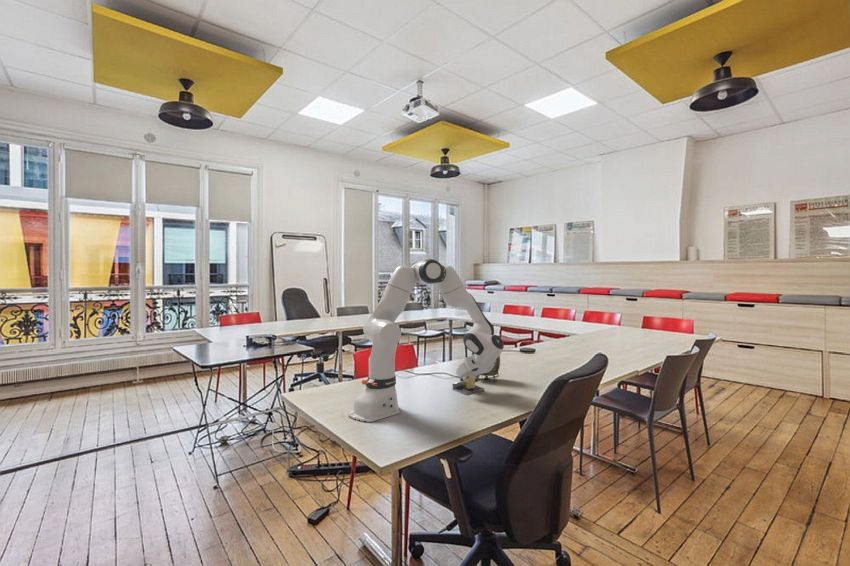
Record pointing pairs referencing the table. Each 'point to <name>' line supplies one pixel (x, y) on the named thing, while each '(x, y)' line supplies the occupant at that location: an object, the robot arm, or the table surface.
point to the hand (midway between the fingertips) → (468, 377)
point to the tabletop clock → (494, 370)
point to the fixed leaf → (463, 390)
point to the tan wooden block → (469, 382)
